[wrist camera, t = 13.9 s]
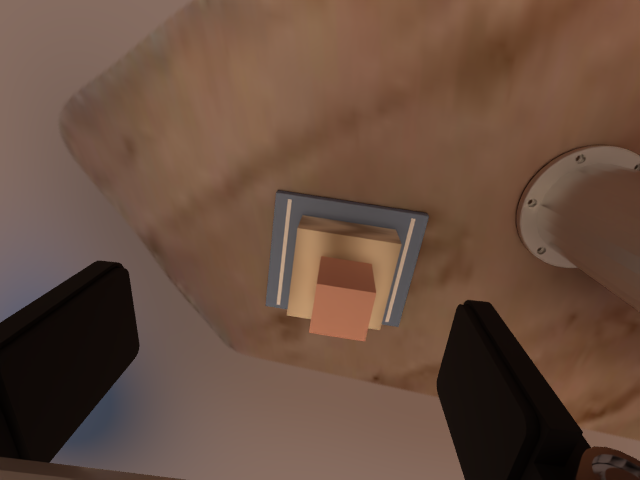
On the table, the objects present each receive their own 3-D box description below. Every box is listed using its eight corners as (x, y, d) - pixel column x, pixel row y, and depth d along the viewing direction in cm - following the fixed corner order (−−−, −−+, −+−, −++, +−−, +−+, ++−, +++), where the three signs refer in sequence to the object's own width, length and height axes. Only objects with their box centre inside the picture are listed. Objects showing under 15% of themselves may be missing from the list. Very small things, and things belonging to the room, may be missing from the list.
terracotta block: (371, 263, 33) (376, 293, 28) (362, 306, 35) (364, 341, 30) (321, 255, 33) (316, 283, 28) (314, 299, 35) (309, 332, 30)
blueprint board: (426, 213, 36) (429, 216, 35) (397, 321, 42) (398, 327, 41) (277, 190, 36) (276, 192, 35) (267, 301, 42) (265, 306, 41)
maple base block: (395, 229, 36) (401, 244, 32) (376, 308, 40) (379, 330, 36) (302, 215, 36) (297, 228, 33) (292, 295, 40) (286, 315, 36)
